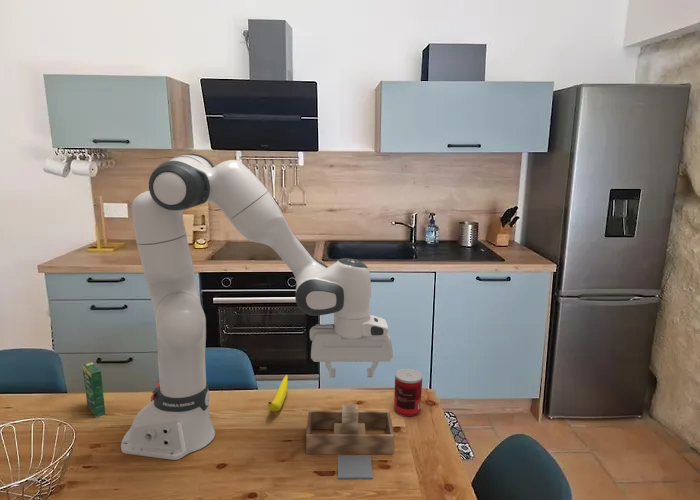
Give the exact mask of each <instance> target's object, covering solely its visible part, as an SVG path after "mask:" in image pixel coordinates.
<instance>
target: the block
mask: <svg viewBox="0 0 700 500" xmlns="http://www.w3.org/2000/svg"><path fill="white" fill-rule="evenodd" d="M341 411H342V434H358V411H359V405H358V404H341Z"/></svg>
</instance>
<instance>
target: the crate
mask: <svg viewBox="0 0 700 500" xmlns="http://www.w3.org/2000/svg"><path fill="white" fill-rule="evenodd" d="M390 411H391V410H358V434H342V410H308V415H307V424H306V434H305V435H306V437H305V439H306V440H305V450H306V451H305V455H394V450H395V433H394V428H393V423H392V418H391V412H390ZM312 430H333V433H312ZM366 430H386V431H385V432H386V433H380V434H379V433H366Z"/></svg>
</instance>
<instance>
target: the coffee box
mask: <svg viewBox="0 0 700 500" xmlns="http://www.w3.org/2000/svg"><path fill="white" fill-rule="evenodd" d="M81 367H82V374H83V383H84V391H85V397H86V405H87V409H89V410H90V411H91V413H92V414H93V416H94V417H96V418H97V417H101V416H103V415H106V408H105V399H104V398H105V397H104V396H105V395H104V389H103V388H104V387H103V376H102V370H101V369H100V368H99V367H98V366H96V364H95V363H93V362H91V361H90V362H86V363H84V364H82V365H81Z"/></svg>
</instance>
